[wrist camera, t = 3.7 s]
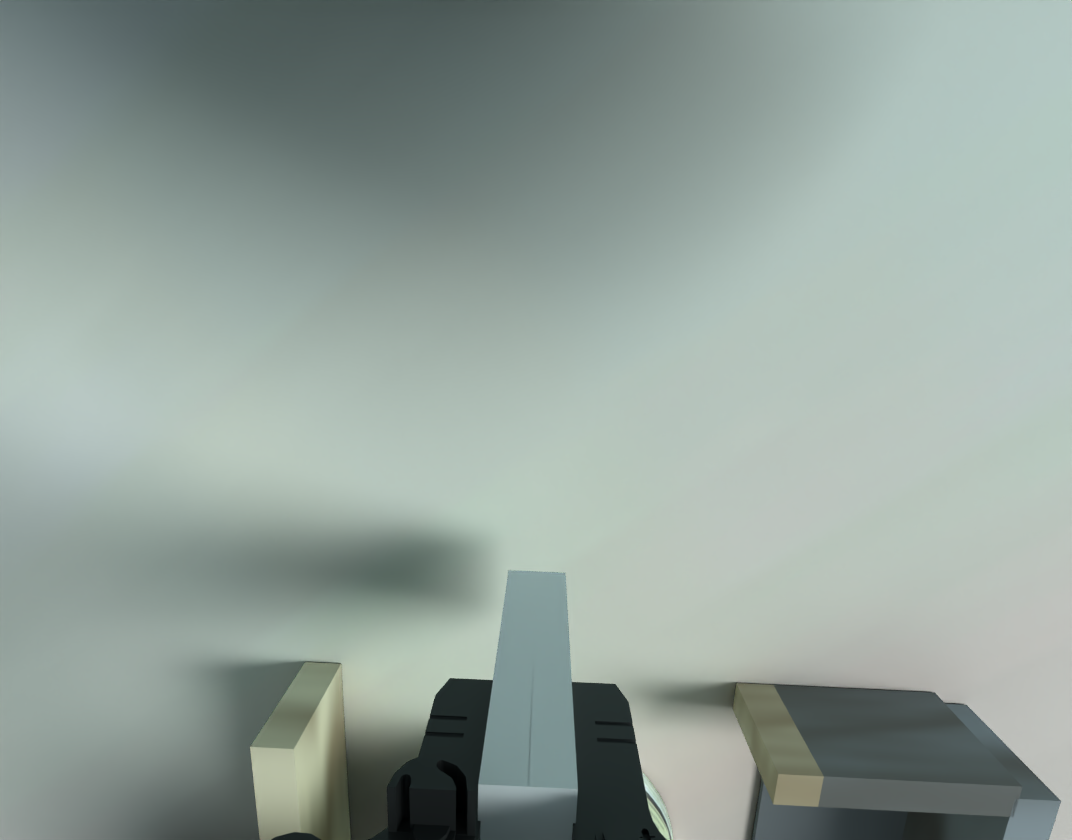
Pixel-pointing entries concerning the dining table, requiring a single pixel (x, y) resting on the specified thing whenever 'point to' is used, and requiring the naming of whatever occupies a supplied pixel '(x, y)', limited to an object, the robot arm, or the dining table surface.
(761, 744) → the channel
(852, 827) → the mats
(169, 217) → the dining table surface
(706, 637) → the dining table surface
